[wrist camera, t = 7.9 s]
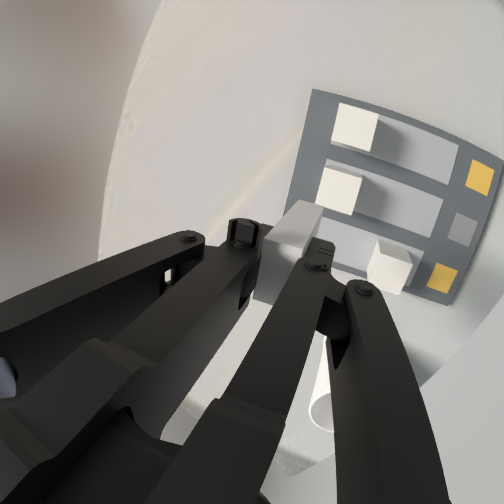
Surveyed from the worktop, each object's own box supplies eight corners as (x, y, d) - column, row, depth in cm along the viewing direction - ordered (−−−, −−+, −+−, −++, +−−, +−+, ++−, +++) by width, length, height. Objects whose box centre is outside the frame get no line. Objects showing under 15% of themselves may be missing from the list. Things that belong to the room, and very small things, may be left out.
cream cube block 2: (327, 163, 29) (324, 167, 25) (361, 173, 28) (362, 178, 24) (319, 196, 30) (314, 204, 27) (351, 206, 29) (351, 215, 26)
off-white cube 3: (377, 239, 30) (380, 253, 26) (406, 249, 29) (412, 264, 25) (366, 268, 31) (367, 285, 28) (395, 278, 30) (398, 295, 27)
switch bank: (314, 90, 27) (312, 88, 26) (499, 160, 23) (504, 160, 21) (277, 244, 35) (274, 248, 34) (445, 301, 30) (447, 306, 29)
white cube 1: (341, 107, 26) (339, 102, 22) (375, 117, 25) (378, 114, 22) (333, 140, 27) (330, 140, 24) (367, 150, 27) (369, 151, 23)
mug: (418, 334, 33) (429, 403, 22) (390, 379, 37) (390, 446, 26) (334, 309, 36) (321, 377, 25) (315, 358, 39) (296, 424, 29)
